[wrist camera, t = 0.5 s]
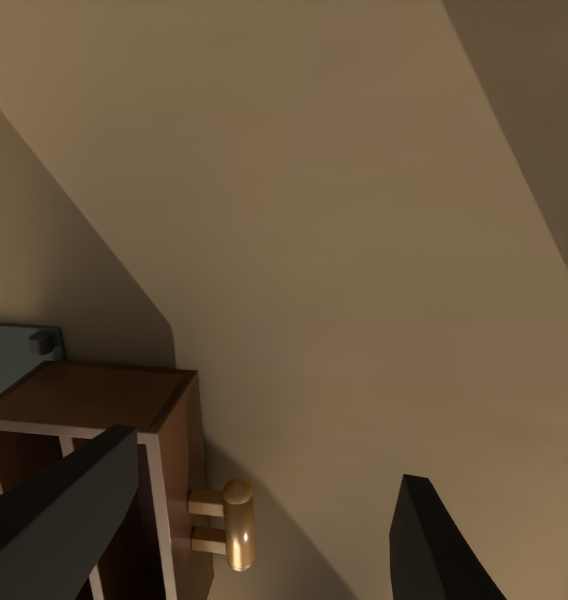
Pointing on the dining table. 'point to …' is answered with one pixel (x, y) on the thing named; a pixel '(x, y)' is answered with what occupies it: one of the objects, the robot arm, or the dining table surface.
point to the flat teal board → (27, 350)
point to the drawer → (151, 473)
